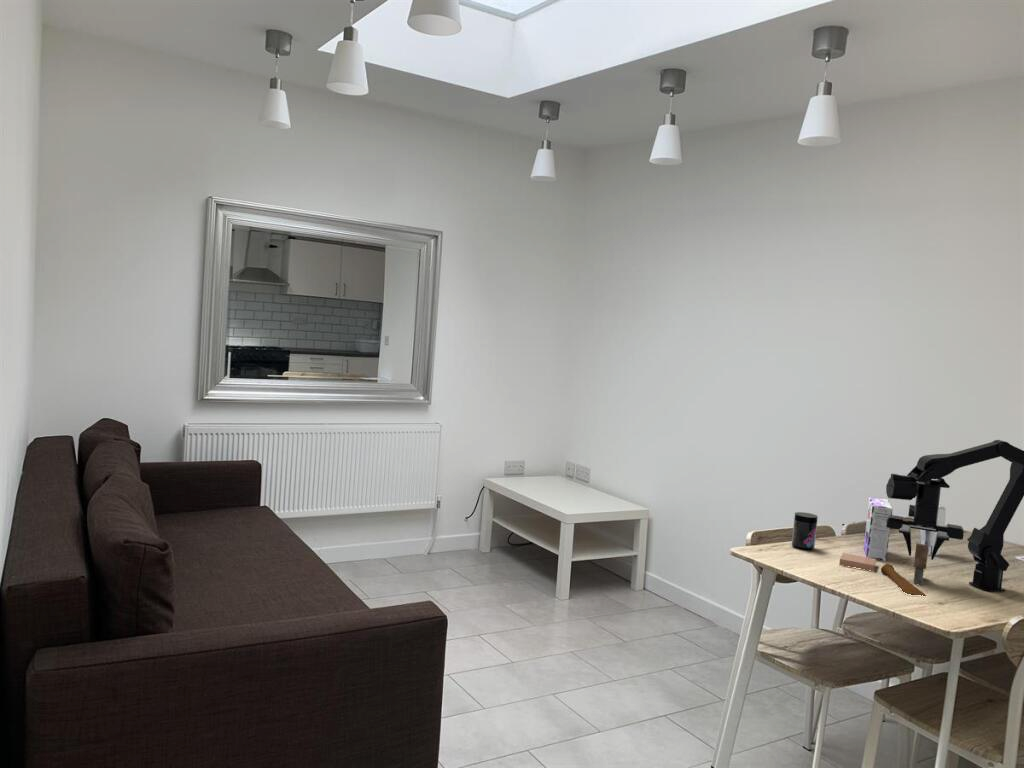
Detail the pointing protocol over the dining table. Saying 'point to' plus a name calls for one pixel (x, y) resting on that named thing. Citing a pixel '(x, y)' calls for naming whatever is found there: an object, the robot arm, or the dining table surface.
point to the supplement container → (804, 531)
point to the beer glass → (930, 536)
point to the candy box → (877, 529)
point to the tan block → (857, 561)
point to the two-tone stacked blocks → (920, 562)
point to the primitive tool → (900, 580)
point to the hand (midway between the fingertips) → (920, 557)
